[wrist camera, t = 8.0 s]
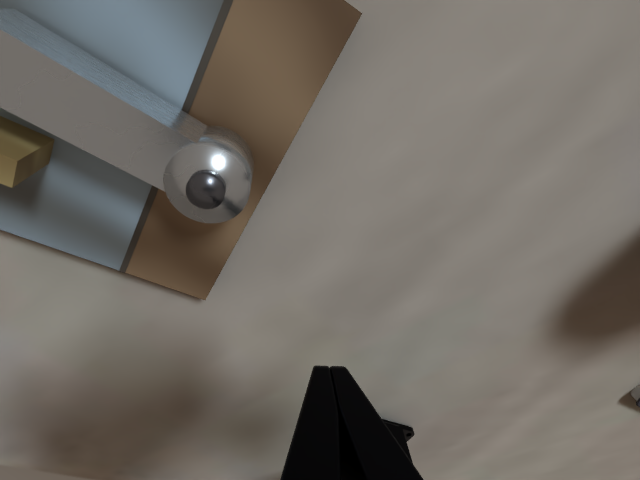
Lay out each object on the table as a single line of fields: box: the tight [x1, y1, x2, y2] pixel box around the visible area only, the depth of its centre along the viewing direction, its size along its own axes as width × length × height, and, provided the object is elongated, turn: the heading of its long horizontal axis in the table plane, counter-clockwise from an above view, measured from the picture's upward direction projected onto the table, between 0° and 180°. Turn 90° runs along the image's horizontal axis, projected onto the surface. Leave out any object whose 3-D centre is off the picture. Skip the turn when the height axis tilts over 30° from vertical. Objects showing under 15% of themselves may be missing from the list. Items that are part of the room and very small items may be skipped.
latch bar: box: [0, 9, 254, 223], centre depth 14 cm, size 10×3×3 cm, turn 55°
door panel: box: [0, 0, 362, 300], centre depth 14 cm, size 16×14×4 cm
